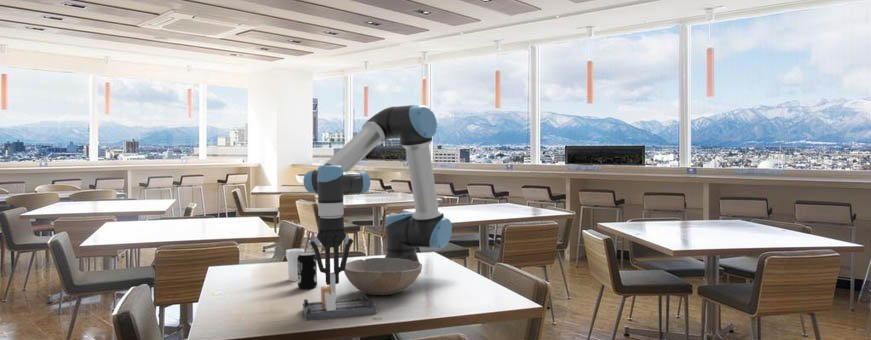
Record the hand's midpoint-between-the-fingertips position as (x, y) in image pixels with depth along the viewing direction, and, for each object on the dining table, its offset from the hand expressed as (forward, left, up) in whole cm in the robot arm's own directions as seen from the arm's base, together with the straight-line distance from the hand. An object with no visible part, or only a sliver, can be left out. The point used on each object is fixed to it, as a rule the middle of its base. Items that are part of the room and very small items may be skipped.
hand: (332, 294), depth 179 cm
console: (-1, +4, -4) cm, 6 cm away
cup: (+8, -47, -5) cm, 48 cm away
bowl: (-18, -14, -5) cm, 24 cm away
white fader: (+2, +8, -2) cm, 8 cm away
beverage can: (+5, -32, -5) cm, 33 cm away
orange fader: (+2, 0, -2) cm, 3 cm away
